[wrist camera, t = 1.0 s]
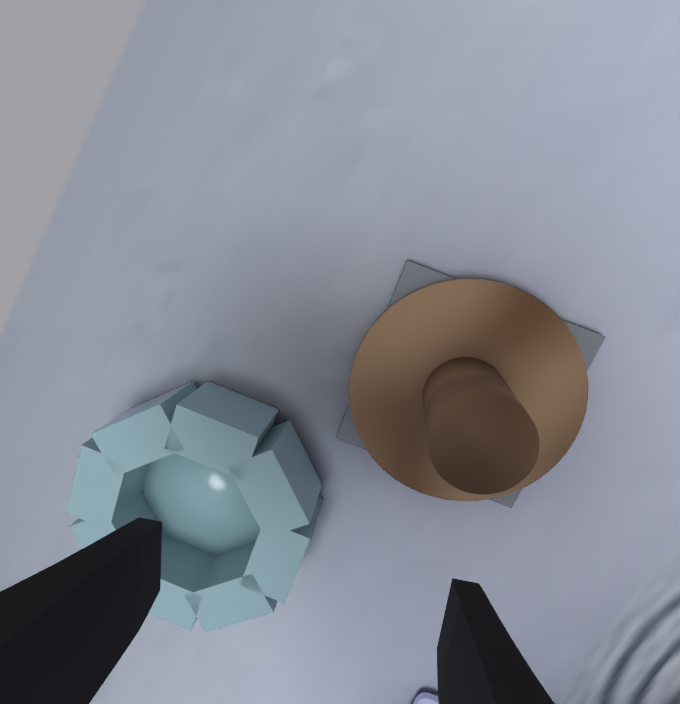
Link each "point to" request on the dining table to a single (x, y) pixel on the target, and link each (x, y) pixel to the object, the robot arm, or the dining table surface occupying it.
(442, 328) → the lid
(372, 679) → the dining table surface
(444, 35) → the dining table surface
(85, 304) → the dining table surface
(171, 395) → the bowl
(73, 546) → the dining table surface
